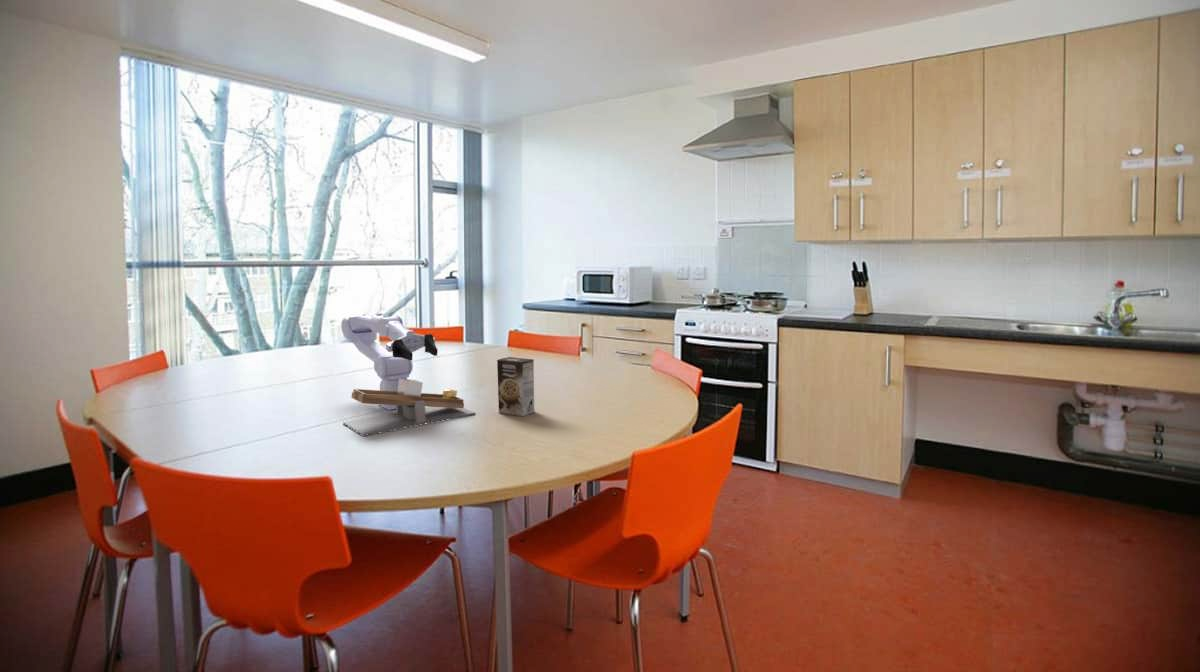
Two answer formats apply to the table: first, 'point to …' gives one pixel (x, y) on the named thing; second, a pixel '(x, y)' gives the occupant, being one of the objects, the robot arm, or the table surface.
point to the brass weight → (449, 394)
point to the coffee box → (516, 386)
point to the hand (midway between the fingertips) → (423, 354)
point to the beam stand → (406, 418)
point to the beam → (404, 399)
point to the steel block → (409, 388)
